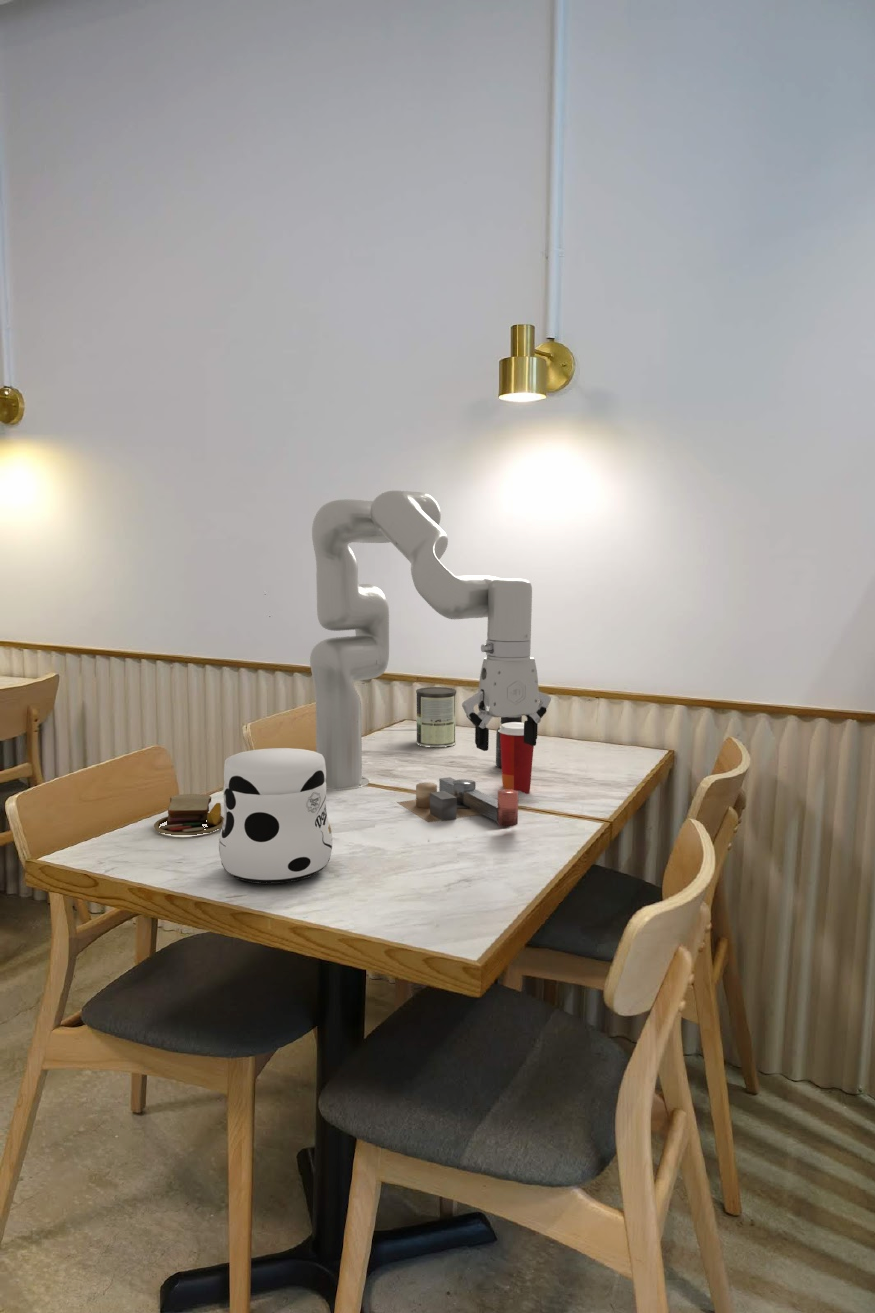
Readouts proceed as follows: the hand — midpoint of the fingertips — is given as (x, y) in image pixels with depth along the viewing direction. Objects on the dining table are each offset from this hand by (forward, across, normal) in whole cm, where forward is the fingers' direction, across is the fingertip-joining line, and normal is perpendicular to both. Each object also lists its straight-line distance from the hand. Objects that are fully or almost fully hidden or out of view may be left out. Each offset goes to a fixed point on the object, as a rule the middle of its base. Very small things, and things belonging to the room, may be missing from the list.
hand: (506, 746), depth 157 cm
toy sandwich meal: (+17, -50, +28) cm, 59 cm away
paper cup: (+16, +16, +23) cm, 32 cm away
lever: (+14, 0, +11) cm, 18 cm away
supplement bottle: (+16, +26, +42) cm, 52 cm away
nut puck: (+15, -7, +18) cm, 24 cm away
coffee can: (+17, +21, +71) cm, 76 cm away
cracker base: (+16, -3, +15) cm, 22 cm away
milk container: (+16, -42, -1) cm, 45 cm away
